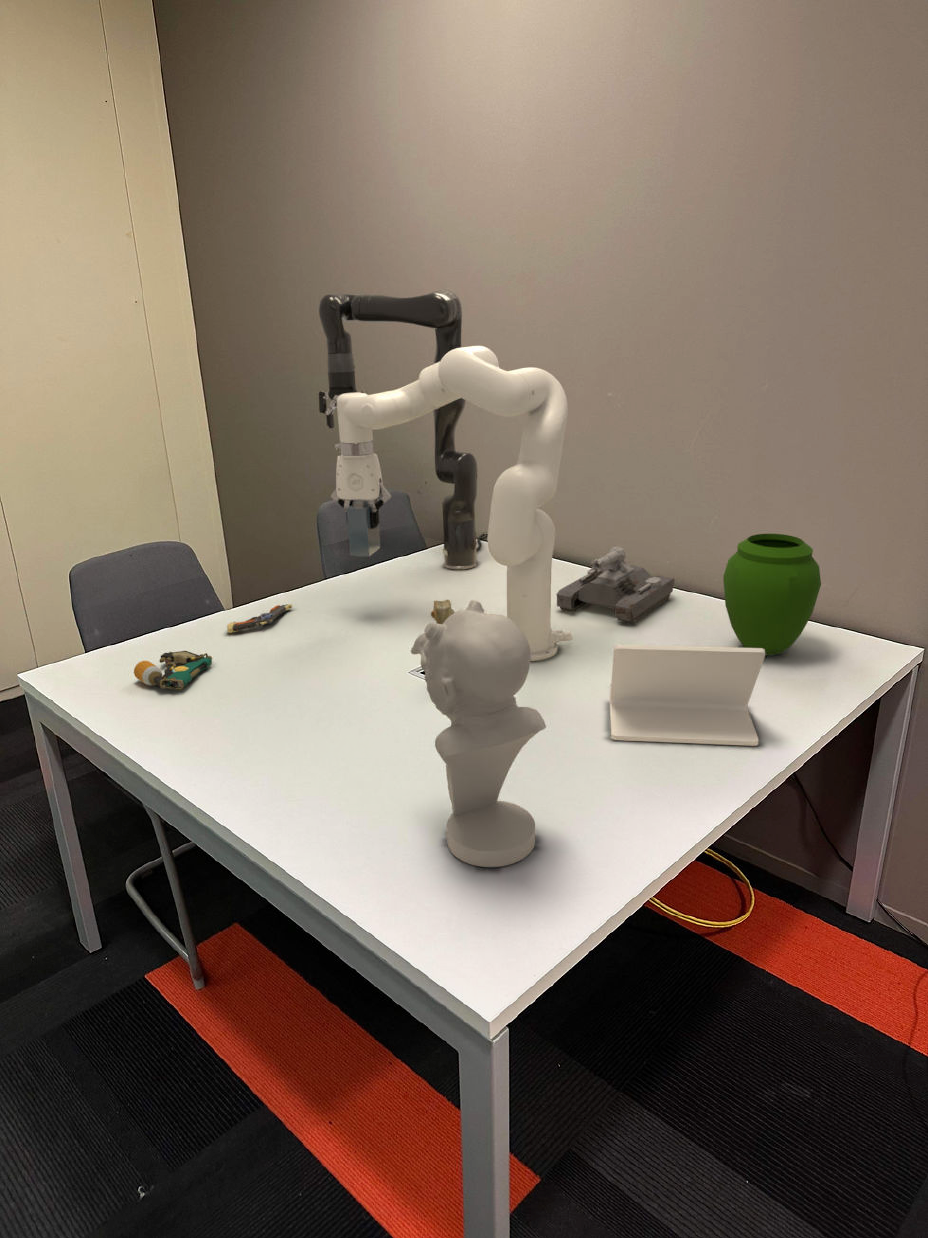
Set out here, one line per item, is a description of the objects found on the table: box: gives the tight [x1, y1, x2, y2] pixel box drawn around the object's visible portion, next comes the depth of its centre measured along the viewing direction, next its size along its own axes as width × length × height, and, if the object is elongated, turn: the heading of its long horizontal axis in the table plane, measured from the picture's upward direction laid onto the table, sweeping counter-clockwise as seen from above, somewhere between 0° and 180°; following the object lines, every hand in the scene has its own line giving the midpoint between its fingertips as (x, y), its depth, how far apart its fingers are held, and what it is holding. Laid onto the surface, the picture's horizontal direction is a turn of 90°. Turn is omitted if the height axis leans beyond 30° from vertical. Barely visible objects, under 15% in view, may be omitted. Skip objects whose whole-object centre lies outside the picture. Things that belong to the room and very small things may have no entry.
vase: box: [722, 533, 822, 656], centre depth 181 cm, size 20×20×24 cm
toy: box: [556, 546, 676, 624], centre depth 212 cm, size 25×20×15 cm
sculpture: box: [430, 599, 456, 624], centre depth 177 cm, size 6×7×15 cm
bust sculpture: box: [410, 599, 547, 868], centre depth 121 cm, size 16×24×35 cm
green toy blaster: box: [133, 650, 213, 690], centre depth 180 cm, size 4×17×15 cm
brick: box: [345, 500, 381, 557], centre depth 201 cm, size 5×8×11 cm, turn 166°
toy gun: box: [226, 603, 293, 634], centre depth 210 cm, size 3×19×10 cm
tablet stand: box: [609, 643, 766, 747], centre depth 153 cm, size 18×25×17 cm
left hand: (345, 428), depth 246 cm, fingers open, 8 cm apart
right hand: (363, 526), depth 200 cm, fingers closed on brick, 4 cm apart
